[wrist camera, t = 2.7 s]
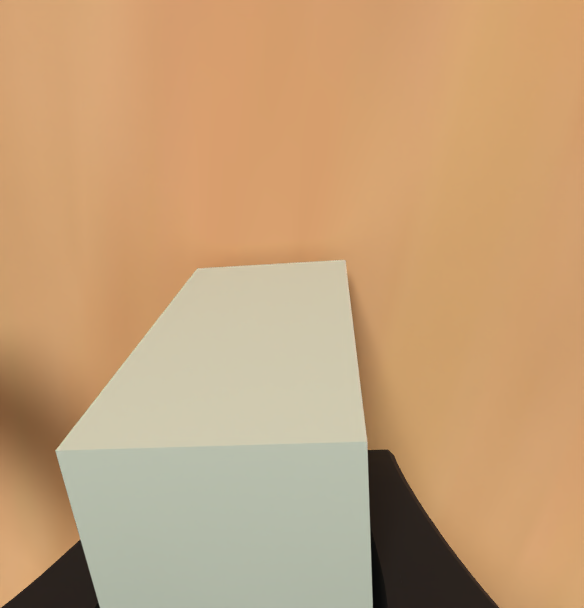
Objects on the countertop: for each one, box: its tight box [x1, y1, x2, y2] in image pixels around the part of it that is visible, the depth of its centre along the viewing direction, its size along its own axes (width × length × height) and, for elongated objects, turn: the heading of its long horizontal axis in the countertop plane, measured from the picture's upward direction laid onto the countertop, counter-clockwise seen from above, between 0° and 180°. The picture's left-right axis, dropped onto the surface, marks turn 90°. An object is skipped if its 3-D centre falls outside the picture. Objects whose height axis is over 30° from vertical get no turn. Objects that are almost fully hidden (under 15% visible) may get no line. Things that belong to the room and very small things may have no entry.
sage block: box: [55, 260, 373, 608], centre depth 9 cm, size 3×8×6 cm, turn 5°
